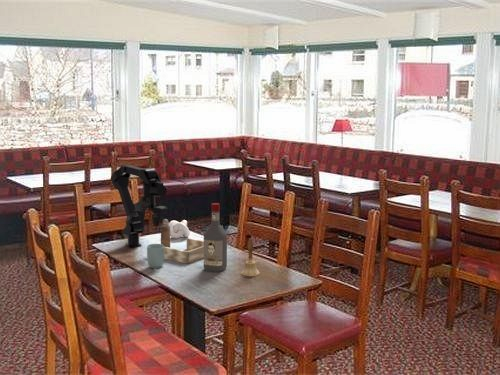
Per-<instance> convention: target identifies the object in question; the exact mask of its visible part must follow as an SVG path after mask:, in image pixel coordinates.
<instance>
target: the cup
mask: <svg viewBox="0 0 500 375" xmlns="http://www.w3.org/2000/svg"><path fill="white" fill-rule="evenodd" d="M164 257H165V250H164V245H162V244H161V243H151V244H148V245H147V246H146V259H147V265H148V267H150V269H154V270H155V269H160V268H162V267H163V266H164V264H165V259H164Z"/></svg>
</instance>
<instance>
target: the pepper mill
mask: <svg viewBox="0 0 500 375" xmlns="http://www.w3.org/2000/svg"><path fill="white" fill-rule="evenodd" d="M160 244H162V245H164V247H169V248H171V236H170V226H169V220H168V219H167V218H164V219H163V220H162V224H161V226H160Z"/></svg>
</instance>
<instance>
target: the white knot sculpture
mask: <svg viewBox="0 0 500 375" xmlns="http://www.w3.org/2000/svg"><path fill="white" fill-rule="evenodd" d="M168 224H169V226H170V238H172V239H176V240H177V239H180V238H181V237H184V238H189V237H190V233H191V232H190V229H189V227H188V221H187V220H185V219H183V220H182V221H181V222H179V221H177V220H171V221H170V222H169V221H168Z"/></svg>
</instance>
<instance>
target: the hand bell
mask: <svg viewBox="0 0 500 375" xmlns="http://www.w3.org/2000/svg"><path fill="white" fill-rule="evenodd" d="M247 250H248V260H246V261H245V264H244V268H243V270H242V271H241V272H240V274H241V275H242V276H244V277H258V276H259V275H261V273H260V271H259V270H258V268H257V262H256V261H255V260H253V251H254V242H253V238H250V237H249V238H248V242H247Z"/></svg>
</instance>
